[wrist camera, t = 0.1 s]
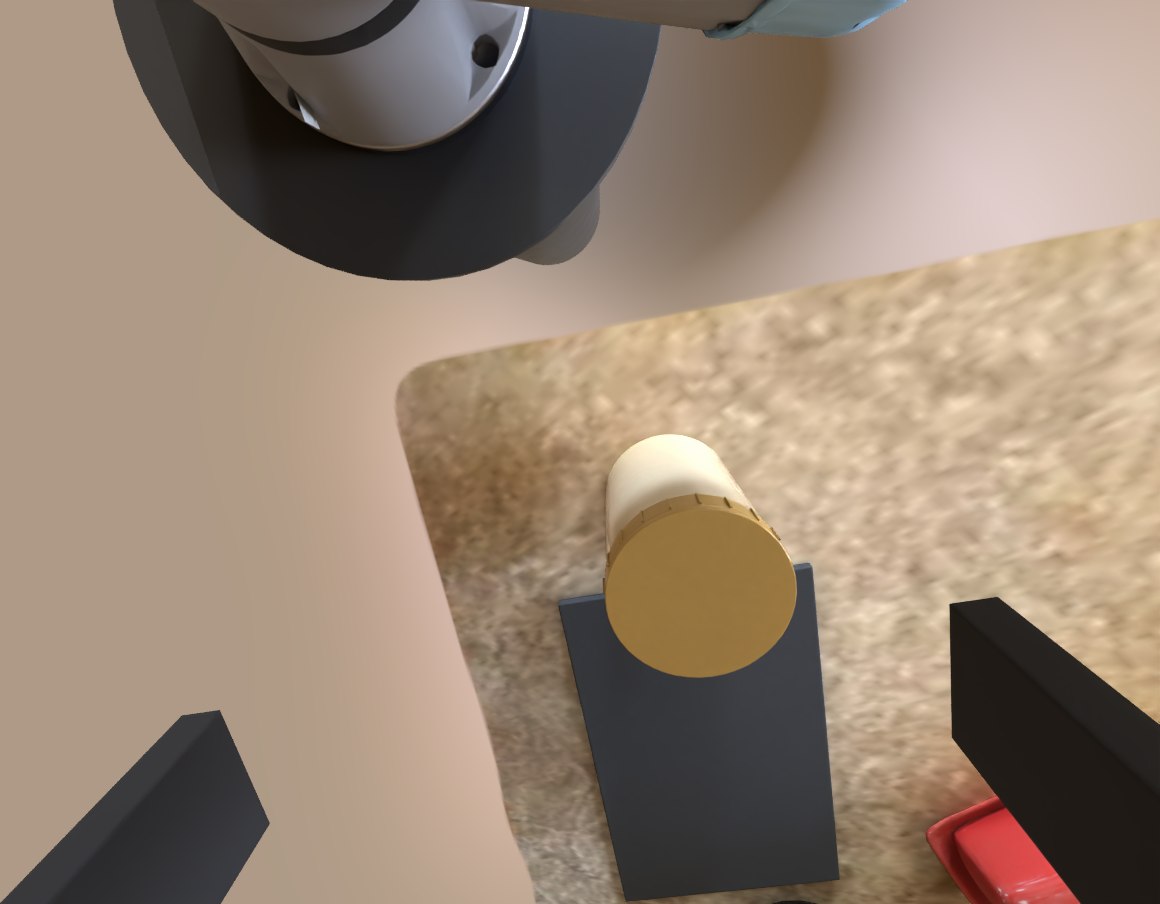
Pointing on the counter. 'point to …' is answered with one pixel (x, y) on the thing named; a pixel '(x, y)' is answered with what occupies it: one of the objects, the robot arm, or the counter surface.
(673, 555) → the lid
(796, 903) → the coffee jar
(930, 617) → the counter surface
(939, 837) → the butter dish
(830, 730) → the counter surface
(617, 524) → the cream-colored jar
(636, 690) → the mat
